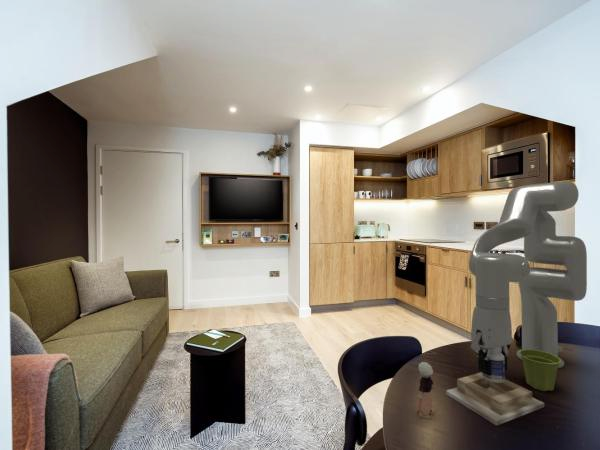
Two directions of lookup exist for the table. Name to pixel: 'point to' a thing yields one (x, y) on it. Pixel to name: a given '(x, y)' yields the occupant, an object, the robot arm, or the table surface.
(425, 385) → the grandmother figurine
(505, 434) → the table surface
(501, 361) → the pill bottle
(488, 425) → the table surface
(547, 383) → the plant pot
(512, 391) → the frame
